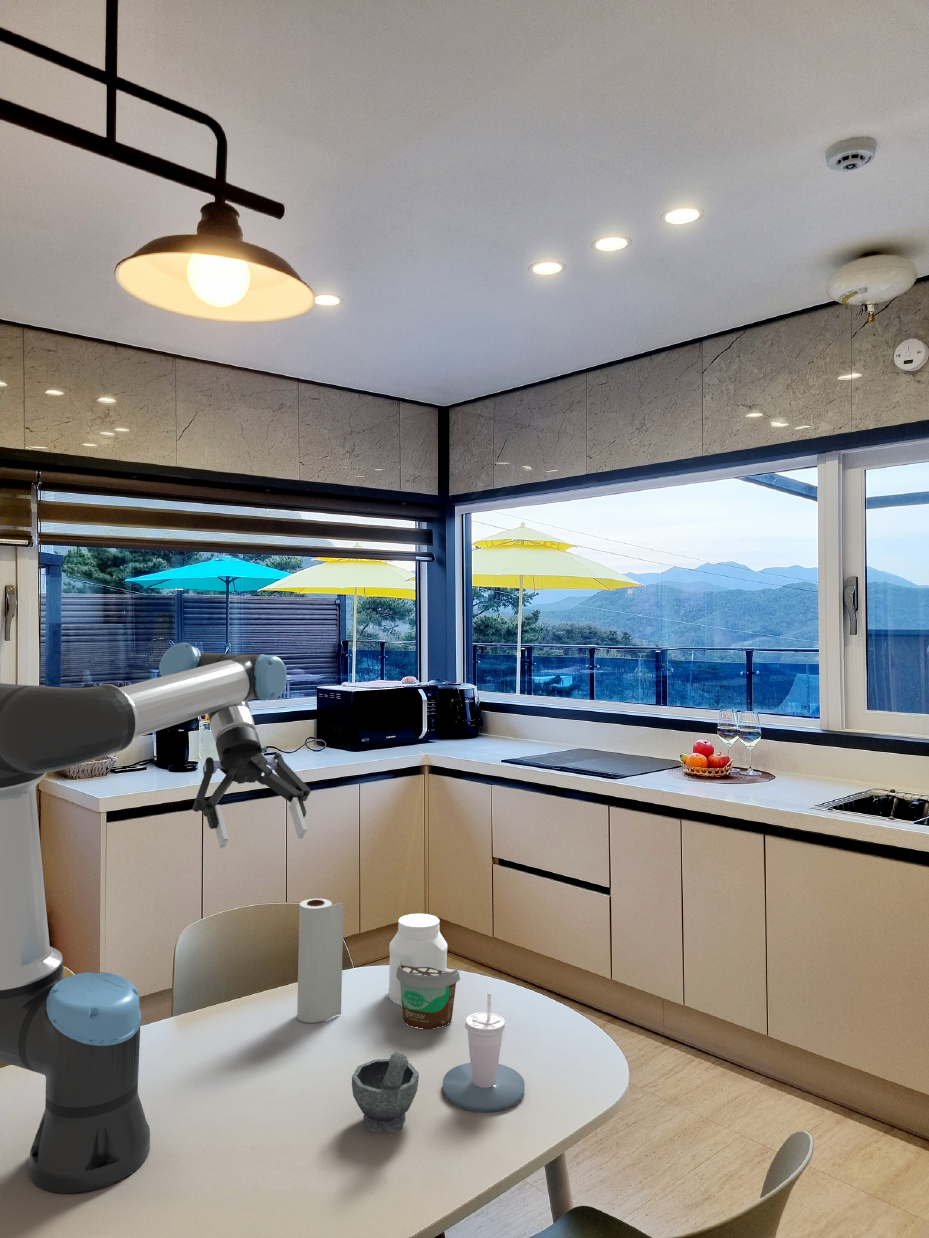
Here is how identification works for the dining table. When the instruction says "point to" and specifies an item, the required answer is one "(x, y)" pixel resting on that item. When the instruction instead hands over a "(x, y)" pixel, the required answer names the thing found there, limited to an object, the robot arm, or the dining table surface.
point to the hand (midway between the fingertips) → (264, 838)
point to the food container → (427, 995)
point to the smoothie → (484, 1045)
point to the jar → (416, 948)
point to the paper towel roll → (319, 960)
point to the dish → (483, 1089)
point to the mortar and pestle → (385, 1091)
